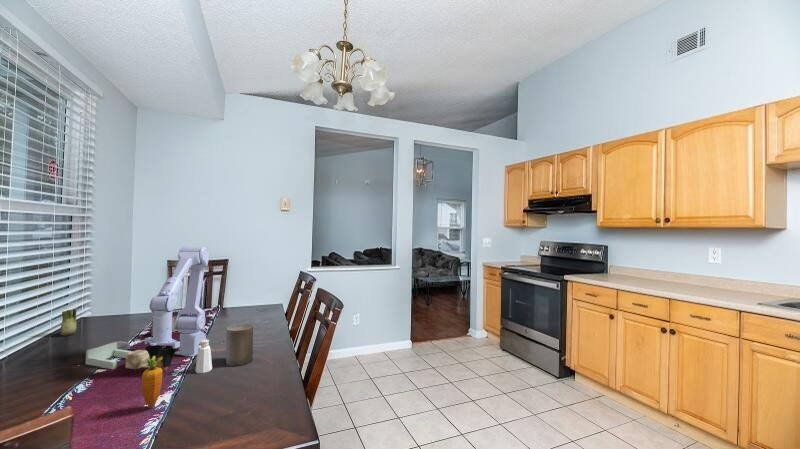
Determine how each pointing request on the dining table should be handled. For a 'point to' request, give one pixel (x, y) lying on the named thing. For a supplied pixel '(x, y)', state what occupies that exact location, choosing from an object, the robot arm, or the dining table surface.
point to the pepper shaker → (204, 357)
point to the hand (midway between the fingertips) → (161, 365)
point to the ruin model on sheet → (172, 325)
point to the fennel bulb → (68, 322)
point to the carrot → (152, 382)
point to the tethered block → (141, 360)
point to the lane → (105, 356)
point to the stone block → (118, 345)
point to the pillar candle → (239, 344)
